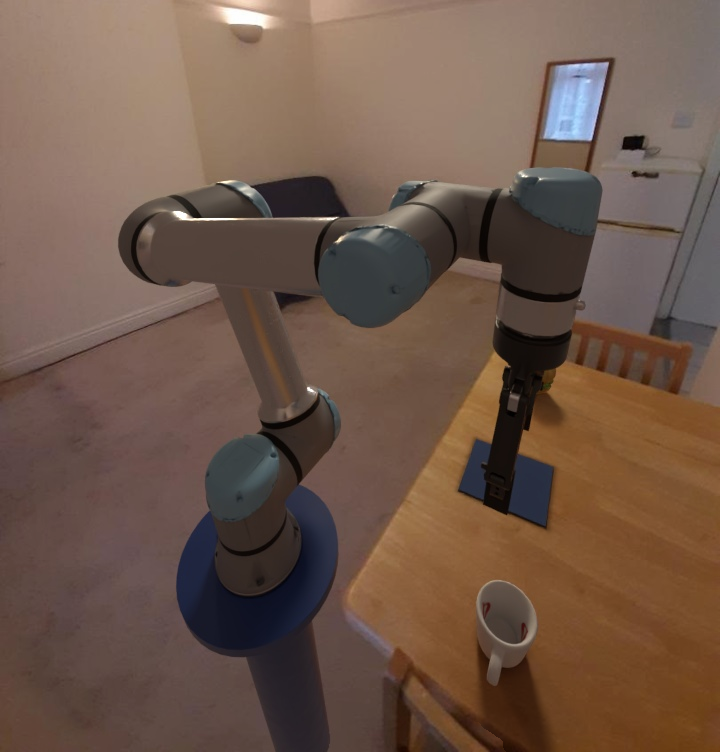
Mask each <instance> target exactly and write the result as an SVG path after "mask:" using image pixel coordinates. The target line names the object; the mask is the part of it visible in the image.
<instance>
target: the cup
mask: <svg viewBox="0 0 720 752" xmlns="http://www.w3.org/2000/svg"><path fill="white" fill-rule="evenodd" d="M475 625H476V626H475V627H476V628H475V629H476V636H477V641H478V644H479V647H480V648H481V650H482V652H483V654H484V656H485V657H486V658H487V659H488V660H489V664H488V668H487V673H486V681H487V682H488V683H489V684H490V685H491V686H493V687H496V686H498V684H499V681H500V677H501V672H502V669H503V668H506V669H511V668H514V667H517V666H518V665H519V664H520V663H521V662H523V660H524V658H525V657H526V655H527V653H528V652H529V651H530V648H531V647H532V645H533V644H534V642H535V640H536V638H537V635H538V630H539V629H538V627H539V623H538V615H537V613H536V610H535V607H534V605H533V602H532V601H531V599H529V597H528V595H526V594H525V592H524V591H523V590H522V589H520V588H519V587H518V586H516V585H515V584H513V583H512V582H509V581H507V580H502V579H501V580H500V579H495V580H490V581H488V582H486V583H485V584H484V585H482V587H481V588H480V589H479V591H478V593H477V596H476V601H475Z"/></svg>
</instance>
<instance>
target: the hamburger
mask: <svg viewBox="0 0 720 752" xmlns="http://www.w3.org/2000/svg"><path fill="white" fill-rule="evenodd" d="M556 375H557V368H555V369H553V370H548V371H545V372H544V375H542V376H543V379H542V382H544V385H543V389H542V391H538V392H537V395H542V394H545V393H547V392H548V391H550V389H551V388H552V385H553V383H554V379H555V377H556Z"/></svg>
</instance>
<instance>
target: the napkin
mask: <svg viewBox="0 0 720 752" xmlns="http://www.w3.org/2000/svg"><path fill="white" fill-rule="evenodd" d="M491 444H492V443H490V442H486V441H484V440H481V439H478V438H475V440H474V443H473V446H472V449H471V452H470V455H469V457H468V461H467V463H466V466H465V469H464V472H463V475H462V478H461V480H460V482H459V483H460V484H459V486H458V490H457V491H459V492H461V493H464V494H466V495H469V496H471V497H473V498H476V499H478V500H479V501H482V502H483V500H484V494H485V487H486V481H484V472H485V471H486V470H484V469H482V468H481V463H482V462H485V463H488V458H489V454H490V449H491ZM514 470H516V473H515V479H514V484H513V489H512V495H511V500H510V505H509V510H508V513H511V514H513V515H514V516H519V517H520V518H522V519H524V520H527V521H530V522H532V523H534V524H537V525H538V526H541V527H544V528H547V527H546V526H547V521H548V520H547V519H548V511H549V503H550V497H551V496H550V495H551V488H552V480H553V473H554V466H553V465H550V464H548V463H545V462H542V461H539V460H537V459H534V458H531V457H528V456H526V455H523V454H520V453H518V456H517V460H516V464H515V469H514Z"/></svg>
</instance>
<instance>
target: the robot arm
mask: <svg viewBox="0 0 720 752" xmlns="http://www.w3.org/2000/svg"><path fill="white" fill-rule="evenodd" d="M602 185H603V184H602V183H601V181H600V180H599V178H598V177H597V176H596V175H594V174H593V173H590V172H588V171H584V170H581V169H577V168H569V167H557V166H552V167H541V166H539V167H529V168H524V169H522V170H519V171H518V172H517V173H516V174H515V175H514V176H513V180H512V183H511V185H510V186H509V187H504V188H501V187H500V188H499V187H498V188H497V187H488V186H478V185H470V184H461V183H452V182H443V181H439V180H438V179H437V180H436V179H430V180H408V181H405V182H403V183H402V184H400V185H399V186H398V188H397V190H396V193H393V195H392V197H391V199H390V202H389V205H388V211H387V212H385V213H383V214H380V215H372V216H346V217H344V216H343V217H341V216H313V217H312V216H307V217H306V216H303V217H301V216H299V217H298V216H297V217H273V214H272V211H271V208H270V206H269V204H268V202H266V200H265V198H264V197H263V195H262V194H261V193H259V191H258V190H256V188H255V187H254V188H253V187H251V186H250V185H249V184H248V183H246V182H243V181H240V180H235V179H233V180H225V181H218V182H212V183H209V184H207V185H203V186H199V187H196V188H192V189H188V190H185V191H180V192H177V193H173V194H170V195H167V196H161V197H157V198H154V199H151V200H149V201H147V202H146V201H145V202H144V203H142V204H141V205H140V206H138V207H137V208H135V209H134V210H132V212H131V213H130V214H129V215H128V216H127V217H126V219H125V220H124V221H123V223H122V225H121V227H120V230H119V233H118V237H117V248H118V252H119V256H120V259H121V260H122V263H123V264H124V266H125V267H126V269H127V270H128V271H129V272H130V273H131V274H132V275H134V276H135V277H137V279H140V280H141V281H144V282H145V283H148V284H151V285H156V286H161V287H168V288H169V287H170V288H179V287H184V286H186V285H188V284H190V283H192V282H193V283H201V284H202V283H203V284H209V285H215V288H216V290H217V293H218V296H219V298H220V300H221V303H222V305H223V308H224V310H225V313H226V315H227V319H228V321H229V323H230V326H231V328H232V331H233V333H234V335H235V338H236V341H237V343H238V345H239V349H240V351H241V353H242V355H243V358H244V361H245V363H246V365H247V368H248V371H249V373H250V376H251V378H252V381H253V383H254V386H255V388H256V390H257V394H258V396H259V398H260V400H261V402H260V403H259V405H258V408H257V417H258V420H259V421H260V424H261V429H259V431H258V432H256V433H244V435H243V436H242V437H240V436H236V437H233V438H232V439H230V440H229V441H227V442H226V443H224V444H223V445H222V446H221V447H220V448H219V449H218V450H217V451H216V452H215V453H214V455H213V456H212V458H211V459H210V461H209V463H208V465H207V468H206V471H205V475H204V489H205V500H206V501H205V502H206V504H207V507H208V511H211V514H212V517H213V520H214V524H215V527H216V530H217V533H218V542H217V545H216V550H215V568H216V572H217V575H218V578H219V581H220V583H221V584H222V586H223V587H224V588H225V589H226V590H227V591H228V592H229V593H230V594H232V595H234V596H236V597H239V598H244V599H253V598H259V597H262V596H265V595H268V594H270V593H272V592H273V591H275V590H276V589H278V588H279V587H280V586H281V585H283V584H284V583H285V582H286V581H287V580H288V578H289V577H290V576H291V574H292V573H293V571H294V570H295V568H296V566H297V564H298V561H299V558H300V555H301V549H302V539H301V532H300V528H299V525H298V523H297V521H296V519H295V517H294V516H293V514H292V513H291V512H290V511H289V510H288V509H287V507H286V504H285V501H286V499H287V498H288V497H289V495H290V494H291V493H292V492H293V491H294V489H295V488H296V487H297V486H298V485H300V484H301V482H302V481H303V480H304V479H305V478H306V477H307V476H308V474H310V472H311V471H312V470H313V469H314V468H315V466H316V465H317V464H318V463H319V462H320V461H321V459H322V458H323V457H324V456H325V455H326V454H327V453H329V451H330V449H331V448H332V447H333V445H334V443H335V441H336V440H337V439H338V437H339V435H340V433H341V428H342V418H341V414H340V411H339V407H338V406H337V404H336V402H335V401H334V400H332V399H330V395H329V394H328V393H327V392H326V391H324V390H322V389H321V388H319V387H317V386H316V385H315V384H314V383H311V382H308V381H307V380H306V377H305V375H304V372H303V369H302V366H301V363H300V361H299V358H298V355H297V353H296V350H295V347H294V344H293V342H292V339H291V335H290V333H289V330H288V328H287V325H286V322H285V320H284V316H283V314H282V311H281V308H280V305H279V303H278V299H277V296H276V294H275V293H281V294H289V295H298V296H305V297H314V298H320V299H321V298H322V299H324V300H325V301H326V304H327V305H328V306H329V307H330V308H331V310H332V311H333V312H334V313H335V314H336V315H337V316H339V317H344V318H345V319H346V320H348V321H349V323H350V324H351V325H353V326H356V327H358V328H364V329H365V328H366V329H376V328H382V327H384V326H387V325H389V324H391V323H393V322H394V321H395V320H396V319H398V317H400V316H401V315H402V314H404V313H406V312H408V311H409V310H411V309H412V308H413V307H415V305H416V304H417V303H419V302H420V301H421V299H422V298H423V296H425V294H426V293H427V292H428V290H429V289H430V288H431V287H432V286H433V285H434V284H435V283H436V282H437V281H438V279H439V278H441V277H442V276H443V274H444V273H446V272H447V271H448V270H449V269H450V268H451V267H452V266H453V265H454V264H455V263H456V262H457V261H458V260H459V259H467V260H471V261H476V262H482V263H487V264H497V265H500V266H501V273H500V277H499V284H498V291H497V299H496V305H495V315H496V317H495V319H494V326H493V333H492V347H493V348H492V349H493V350H494V352H495V353H496V355H497V356H498V357H499V358H500V359H501V360H503V361H504V362H505V363H507V365H505V366H504V368H503V371H502V376H501V380H502V387H501V390H500V394H499V399H498V404H499V406H498V412H497V416H496V421H495V426H494V430H493V436H492V439H491V443H490V444H491V449H490V454H489V458H488V463H485V462H482V463H481V468H482V469H484V470H486V471H485V472H484V481H486V487H485V494H484V500H483V501H482V505H483V506H485V507H488V508H490V509H491V510H494V511H496V512H497V513H501V514H502V515H504V516H508V514H509V512H508V510H509V505H510V500H511V495H512V489H513V484H514V479H515V473H516V470H514V469H515V464H516V460H517V456H518V454H519V452H520V451H519V450H520V446H521V441H522V438H523V434H524V431H526V432H529V431H530V427H531V423H532V417H533V412H534V407H535V404H536V398H537V395H538V394H537V392H538V391H542V389H543V385H544V382H542V379H543V376H542V375H544V372H545V371H548V370H553V369H555V368H556V369H557V368H560V367H561V366H562V365H564V363H565V362H566V360H567V357H568V354H569V348H570V345H571V341H572V337H573V335H572V334H573V330H572V328H574V323H575V320H576V315H577V311H584V310H585V309H586V302H585V300H581V299H580V297H581V293H582V289H583V285H584V281H585V277H586V273H587V269H588V265H589V261H590V257H591V253H592V248H593V244H594V240H595V236H596V232H597V228H598V222H599V221H598V220H599V214H600V209H601V208H600V207H601V203H602V196H603V186H602Z"/></svg>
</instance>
